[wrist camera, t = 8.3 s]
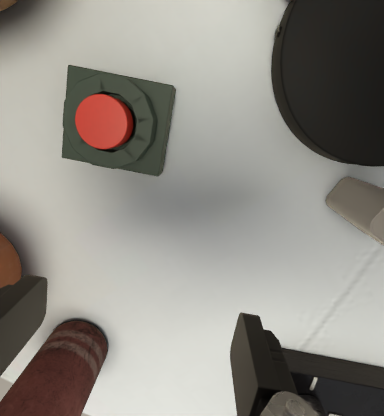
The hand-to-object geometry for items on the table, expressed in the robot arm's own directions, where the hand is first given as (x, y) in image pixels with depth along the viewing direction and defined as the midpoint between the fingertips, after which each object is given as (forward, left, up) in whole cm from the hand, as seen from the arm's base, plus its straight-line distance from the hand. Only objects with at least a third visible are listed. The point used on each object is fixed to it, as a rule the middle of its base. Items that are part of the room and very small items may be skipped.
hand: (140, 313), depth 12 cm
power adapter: (-16, -4, -16) cm, 22 cm away
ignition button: (+6, -7, -12) cm, 15 cm away
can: (+7, +16, -16) cm, 24 cm away
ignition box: (+6, -7, -15) cm, 18 cm away
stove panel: (-19, +16, -15) cm, 29 cm away
